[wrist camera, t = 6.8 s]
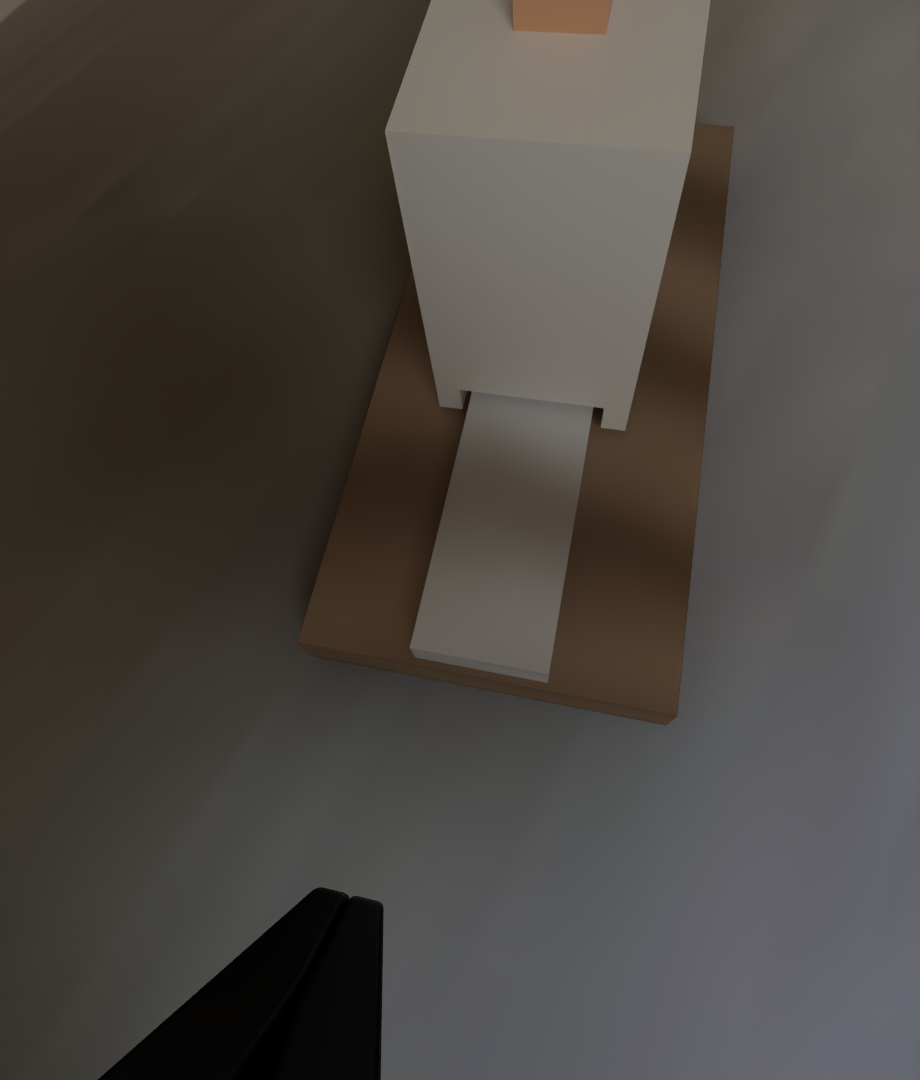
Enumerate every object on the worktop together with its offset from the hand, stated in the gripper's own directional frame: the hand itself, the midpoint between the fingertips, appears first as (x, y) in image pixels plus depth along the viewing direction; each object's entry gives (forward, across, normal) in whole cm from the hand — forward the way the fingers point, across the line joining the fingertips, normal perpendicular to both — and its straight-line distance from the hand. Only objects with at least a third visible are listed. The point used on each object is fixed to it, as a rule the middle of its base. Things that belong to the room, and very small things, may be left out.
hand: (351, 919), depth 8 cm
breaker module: (+17, 0, -6) cm, 18 cm away
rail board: (+18, 0, -4) cm, 19 cm away
